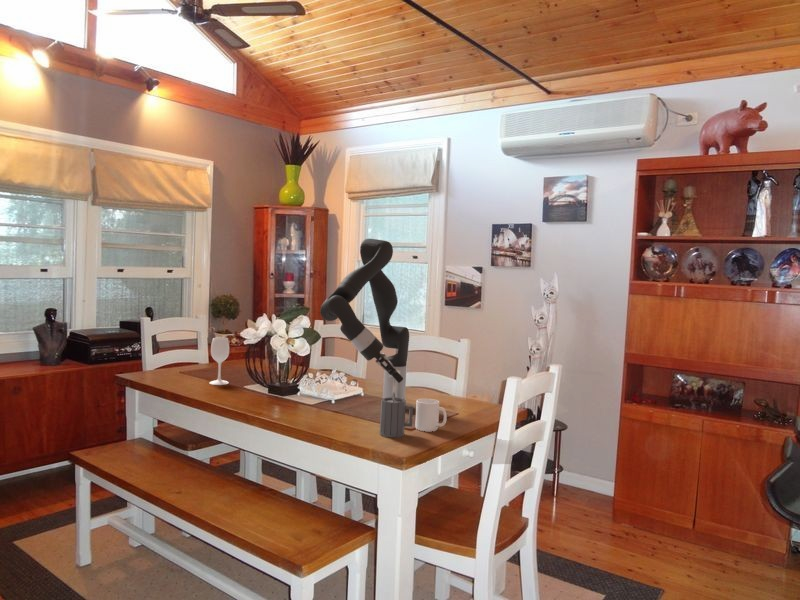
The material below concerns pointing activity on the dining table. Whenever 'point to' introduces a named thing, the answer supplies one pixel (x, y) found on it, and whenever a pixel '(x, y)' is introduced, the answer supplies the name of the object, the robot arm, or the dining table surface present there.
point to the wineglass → (219, 356)
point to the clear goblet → (394, 388)
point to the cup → (428, 415)
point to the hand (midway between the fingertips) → (400, 379)
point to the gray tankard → (394, 417)
